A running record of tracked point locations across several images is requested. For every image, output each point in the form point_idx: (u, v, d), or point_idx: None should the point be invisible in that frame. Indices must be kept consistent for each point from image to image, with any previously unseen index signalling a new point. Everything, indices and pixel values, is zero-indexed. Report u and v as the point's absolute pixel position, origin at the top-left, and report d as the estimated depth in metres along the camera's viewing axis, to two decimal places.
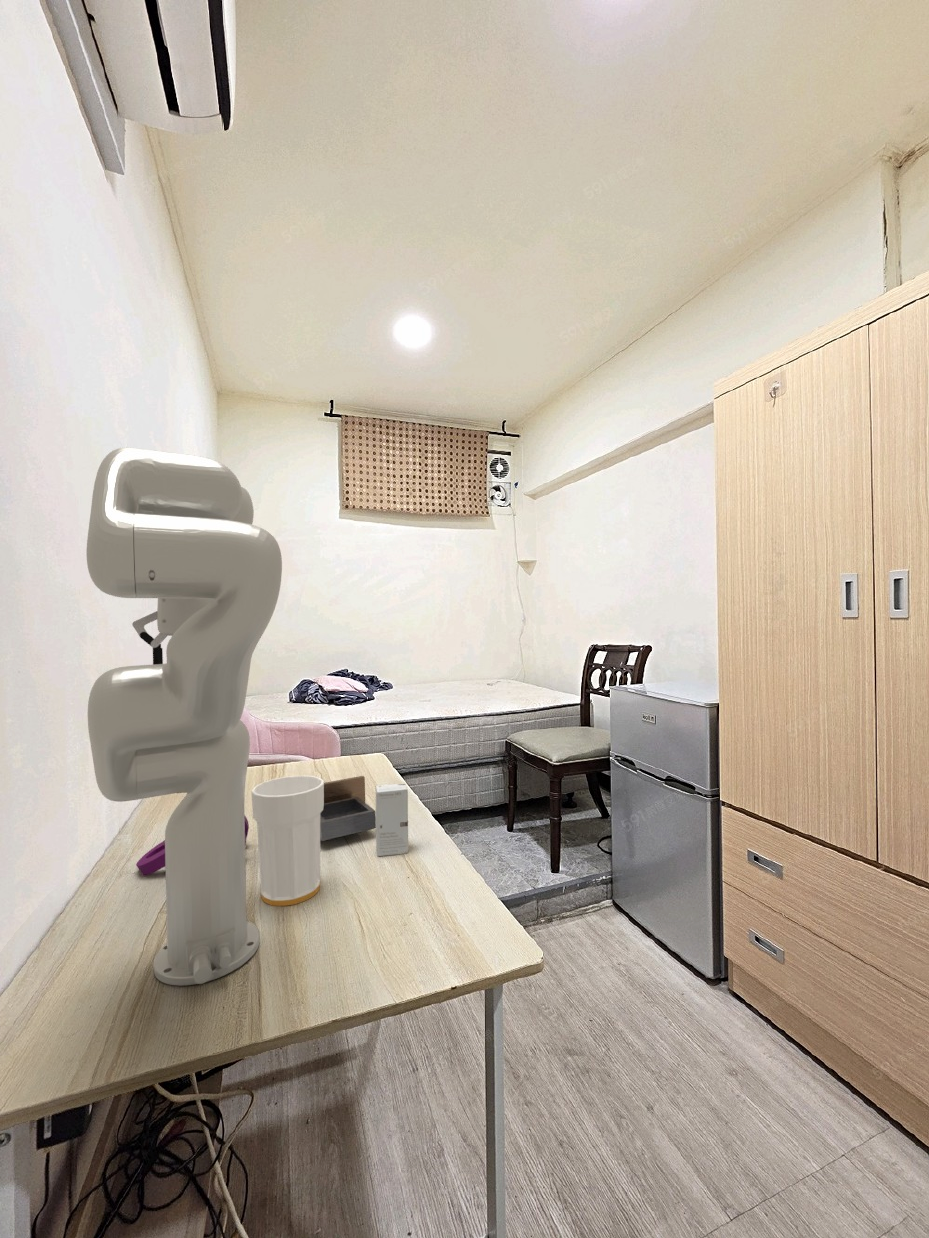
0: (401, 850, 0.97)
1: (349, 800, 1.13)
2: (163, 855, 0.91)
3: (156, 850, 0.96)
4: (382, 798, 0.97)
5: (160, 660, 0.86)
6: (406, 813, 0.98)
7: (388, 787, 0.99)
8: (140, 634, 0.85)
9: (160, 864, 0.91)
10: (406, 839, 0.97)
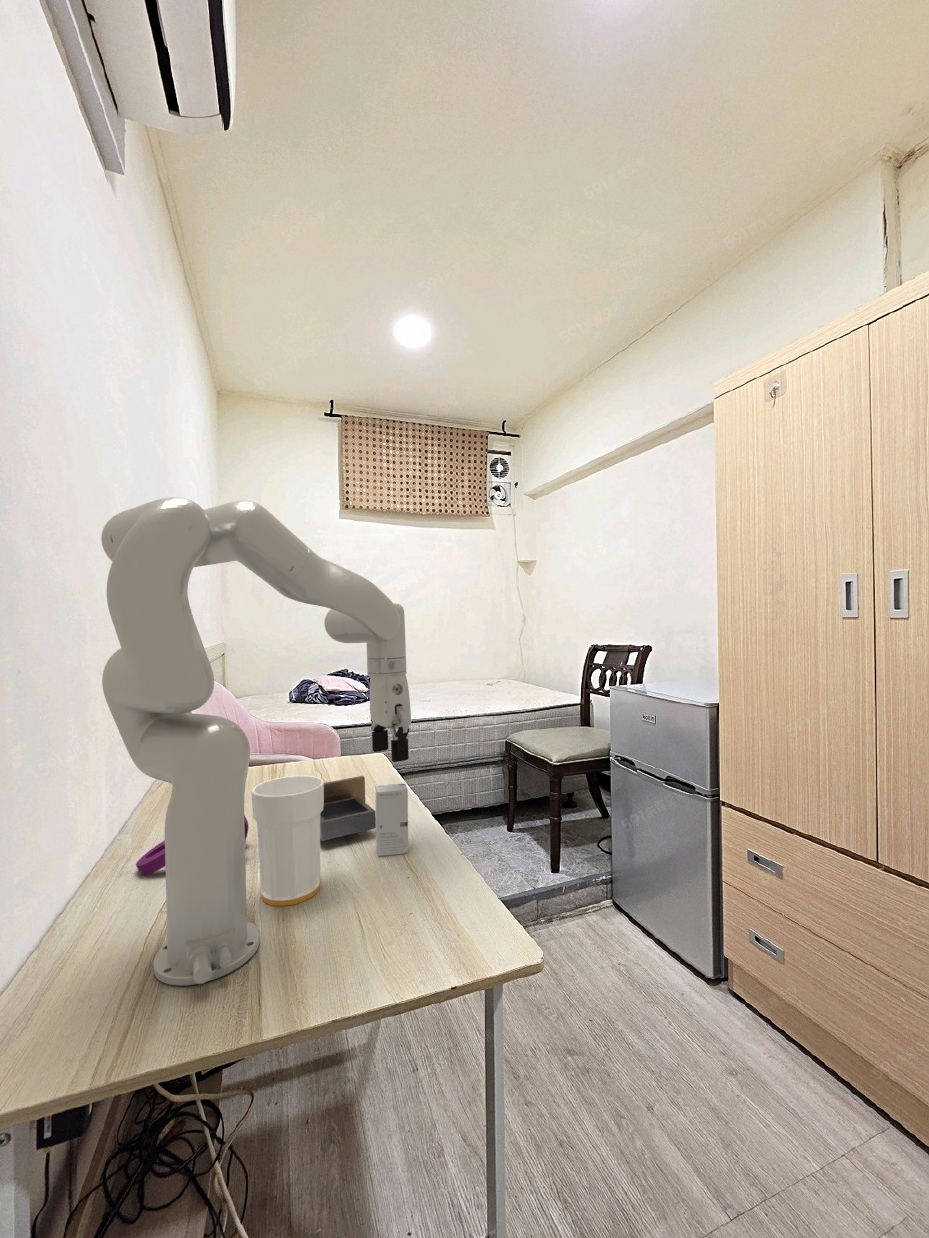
0: (401, 850, 0.97)
1: (349, 800, 1.13)
2: (162, 855, 0.91)
3: (156, 850, 0.96)
4: (382, 798, 0.97)
5: None
6: (406, 813, 0.98)
7: (388, 787, 0.99)
8: (408, 728, 0.93)
9: (160, 864, 0.91)
10: (406, 839, 0.97)
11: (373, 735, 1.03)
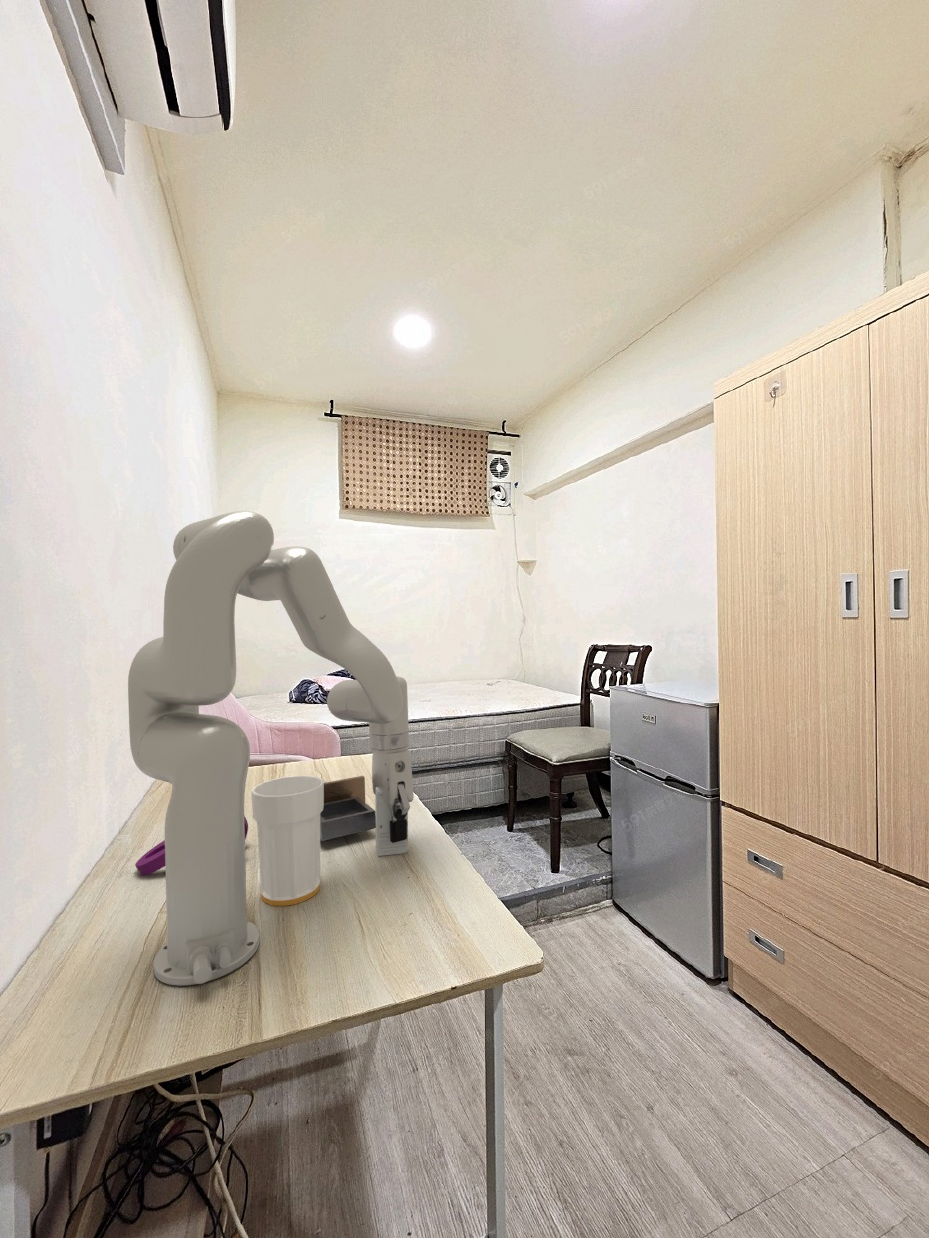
0: (401, 850, 0.97)
1: (349, 800, 1.13)
2: (162, 856, 0.91)
3: (155, 850, 0.96)
4: (382, 798, 0.97)
5: None
6: None
7: None
8: None
9: (159, 864, 0.91)
10: (406, 839, 0.98)
11: None
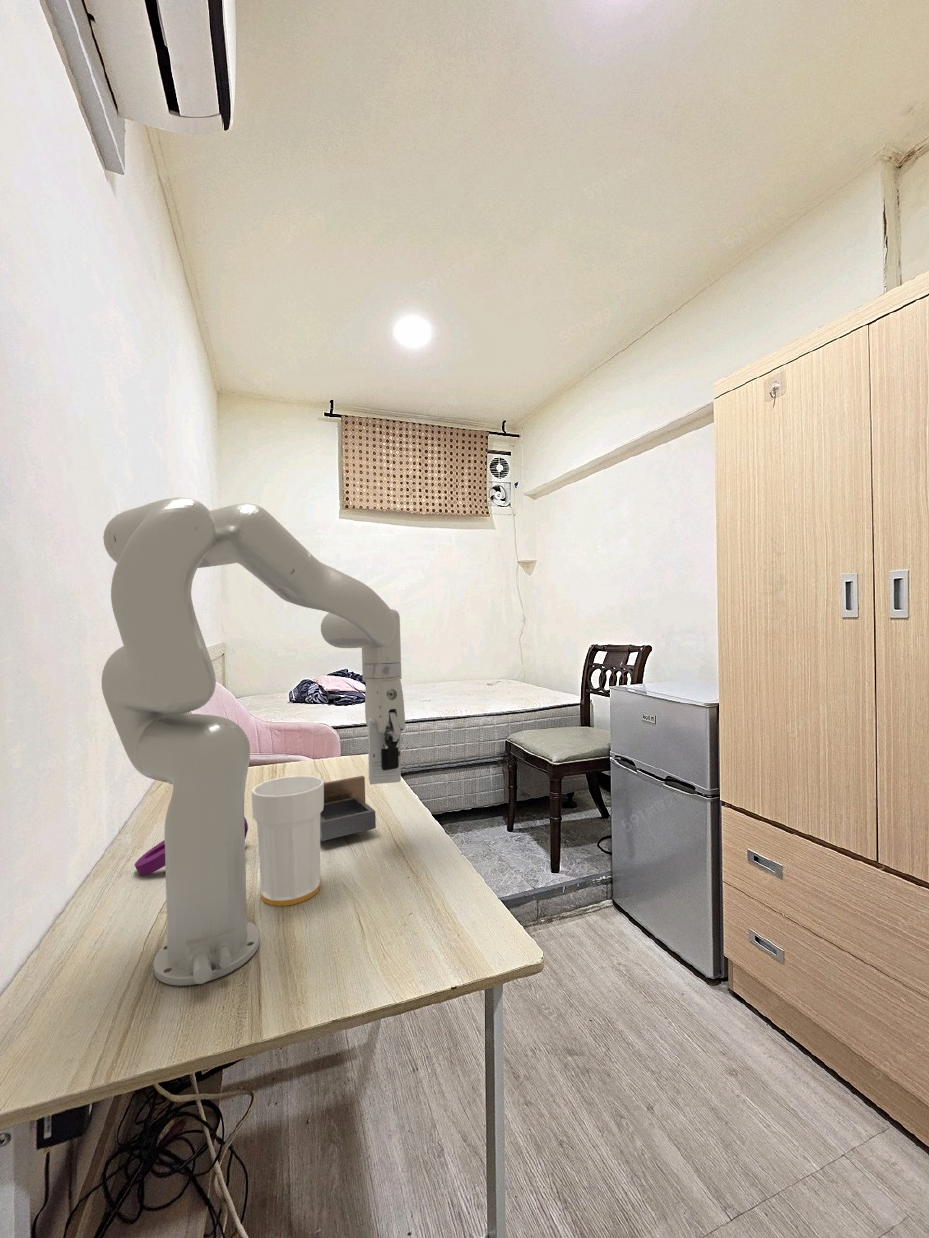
0: (394, 779, 0.98)
1: (349, 800, 1.13)
2: (161, 856, 0.91)
3: (155, 850, 0.96)
4: (375, 727, 0.98)
5: None
6: (399, 743, 0.99)
7: None
8: (398, 738, 0.95)
9: (158, 864, 0.91)
10: (399, 768, 0.98)
11: None
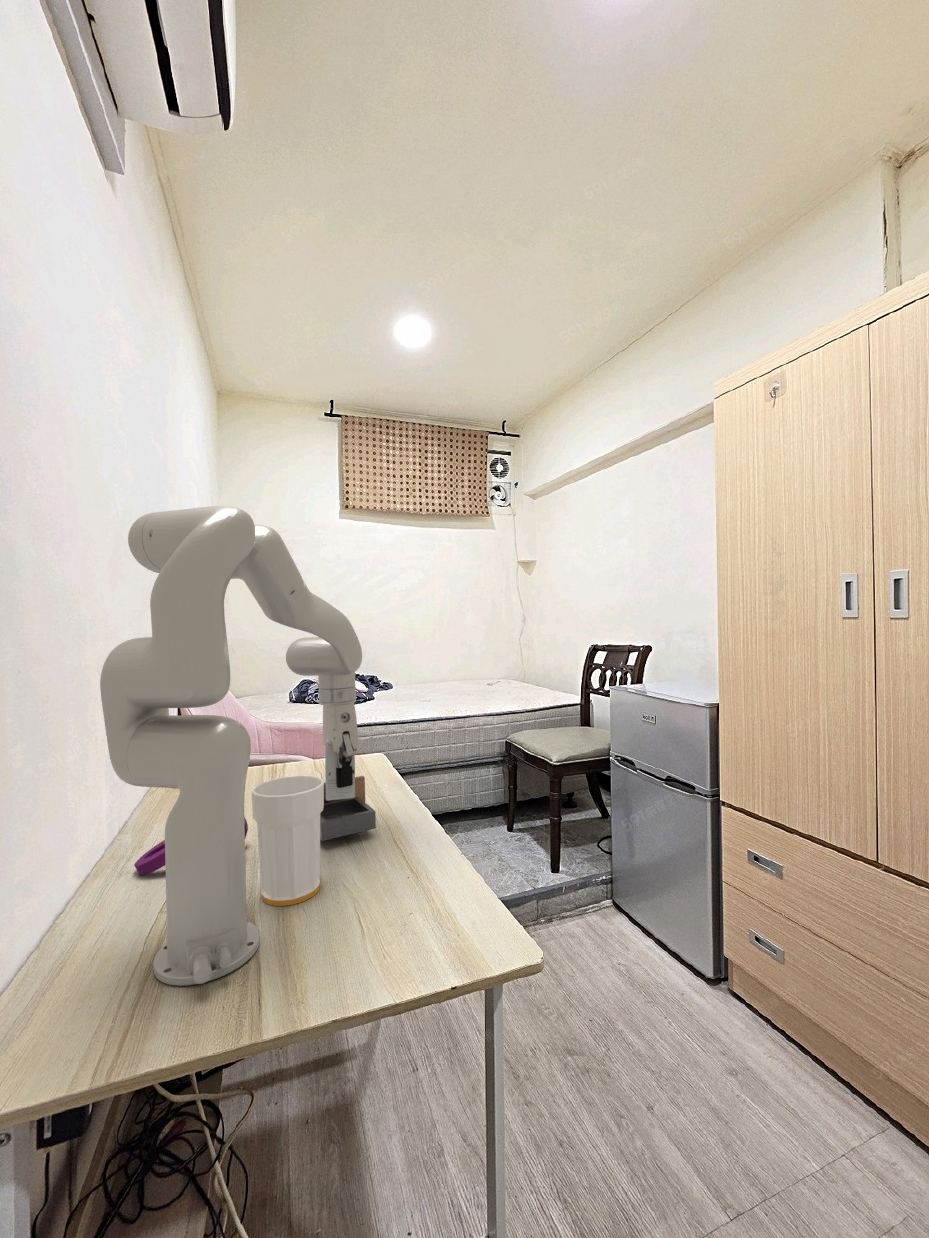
0: (348, 795, 1.06)
1: (349, 800, 1.13)
2: (160, 856, 0.91)
3: (155, 850, 0.96)
4: (330, 748, 1.05)
5: None
6: (353, 761, 1.06)
7: None
8: None
9: (157, 864, 0.91)
10: (353, 785, 1.06)
11: None
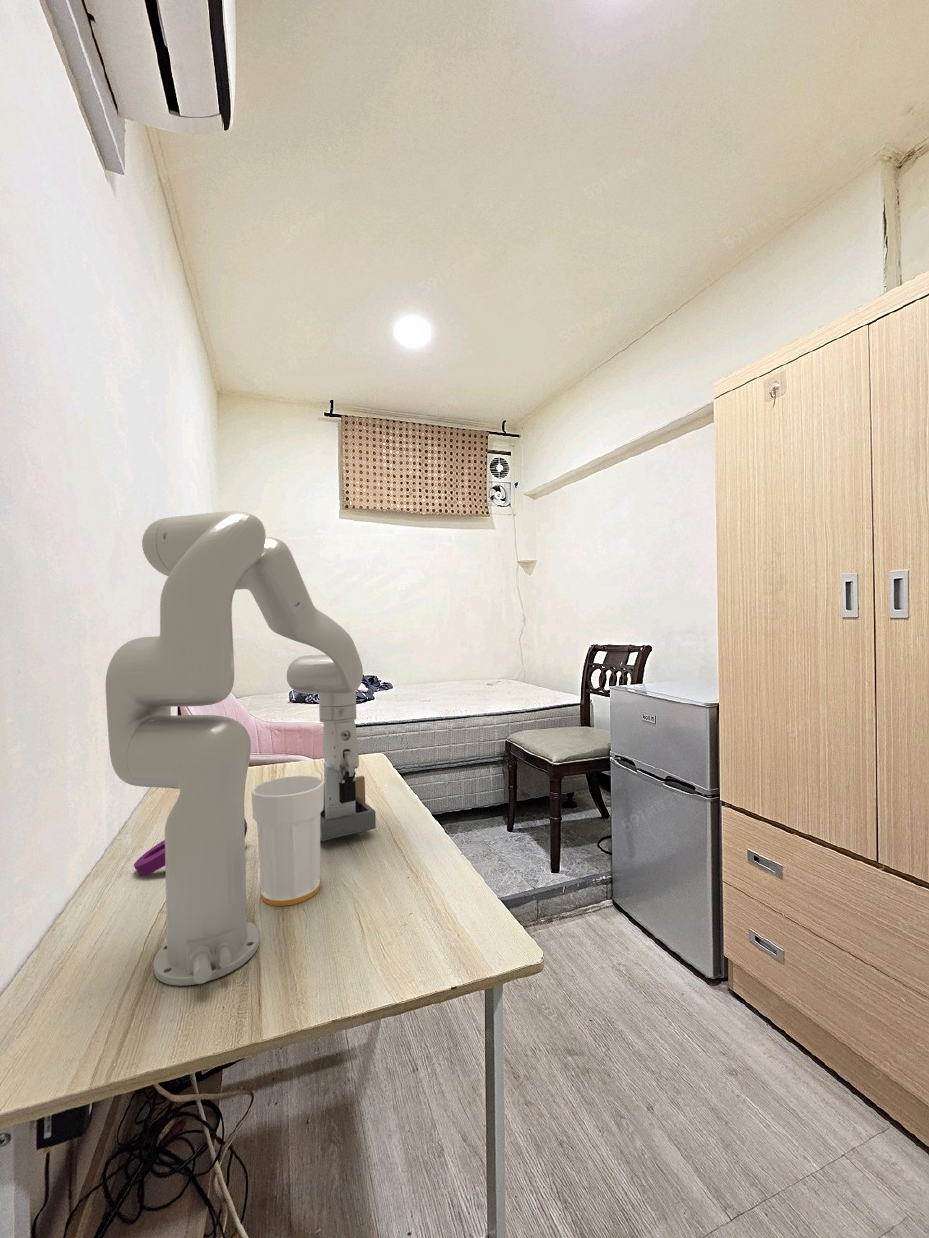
0: None
1: None
2: (160, 856, 0.91)
3: (154, 851, 0.96)
4: (331, 772, 1.05)
5: None
6: None
7: None
8: (354, 772, 1.01)
9: (157, 865, 0.90)
10: (353, 809, 1.06)
11: None
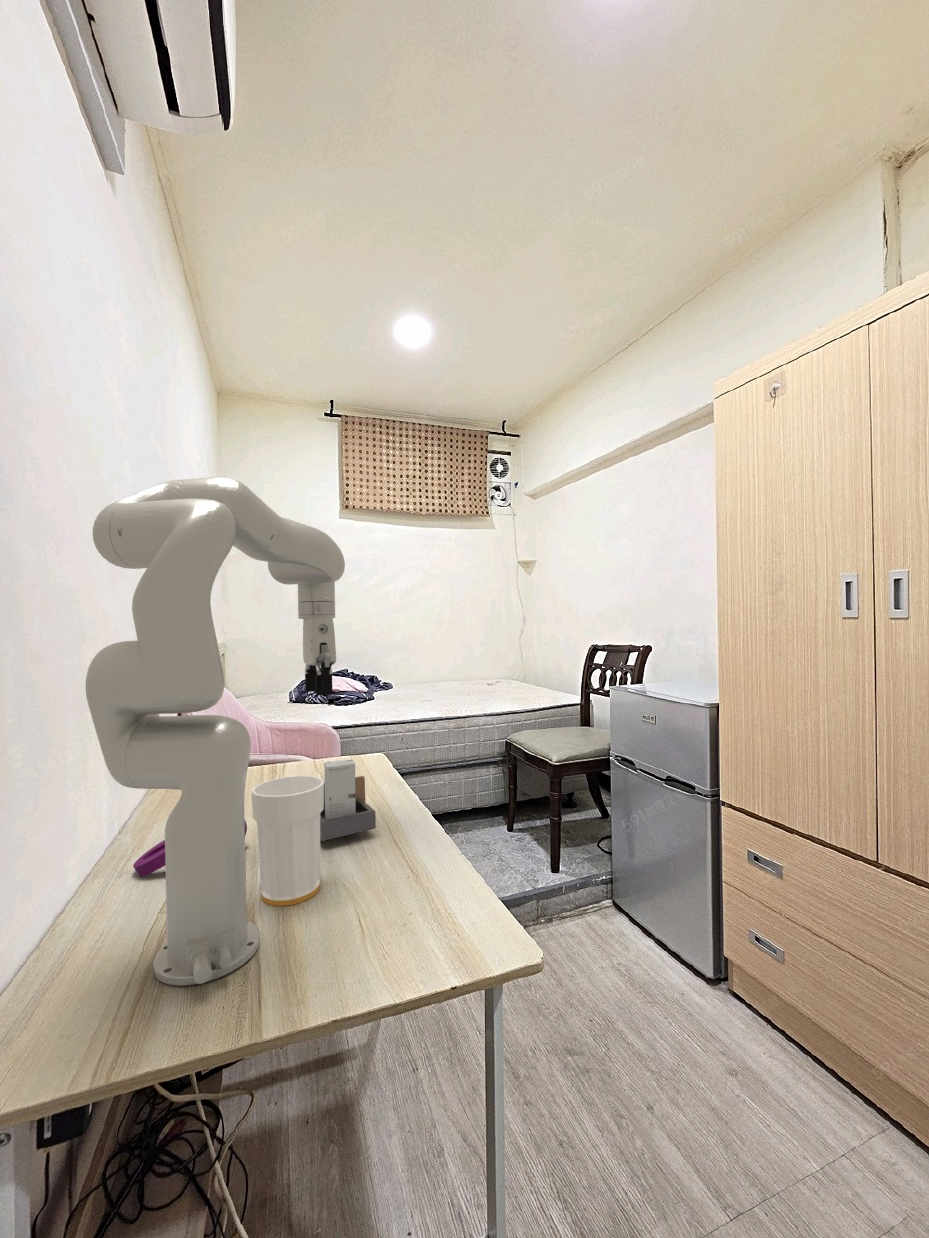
0: None
1: None
2: (159, 856, 0.90)
3: (154, 851, 0.96)
4: (331, 772, 1.05)
5: None
6: (354, 785, 1.06)
7: (336, 762, 1.07)
8: (330, 663, 1.02)
9: (156, 865, 0.90)
10: (354, 809, 1.06)
11: (306, 676, 1.11)
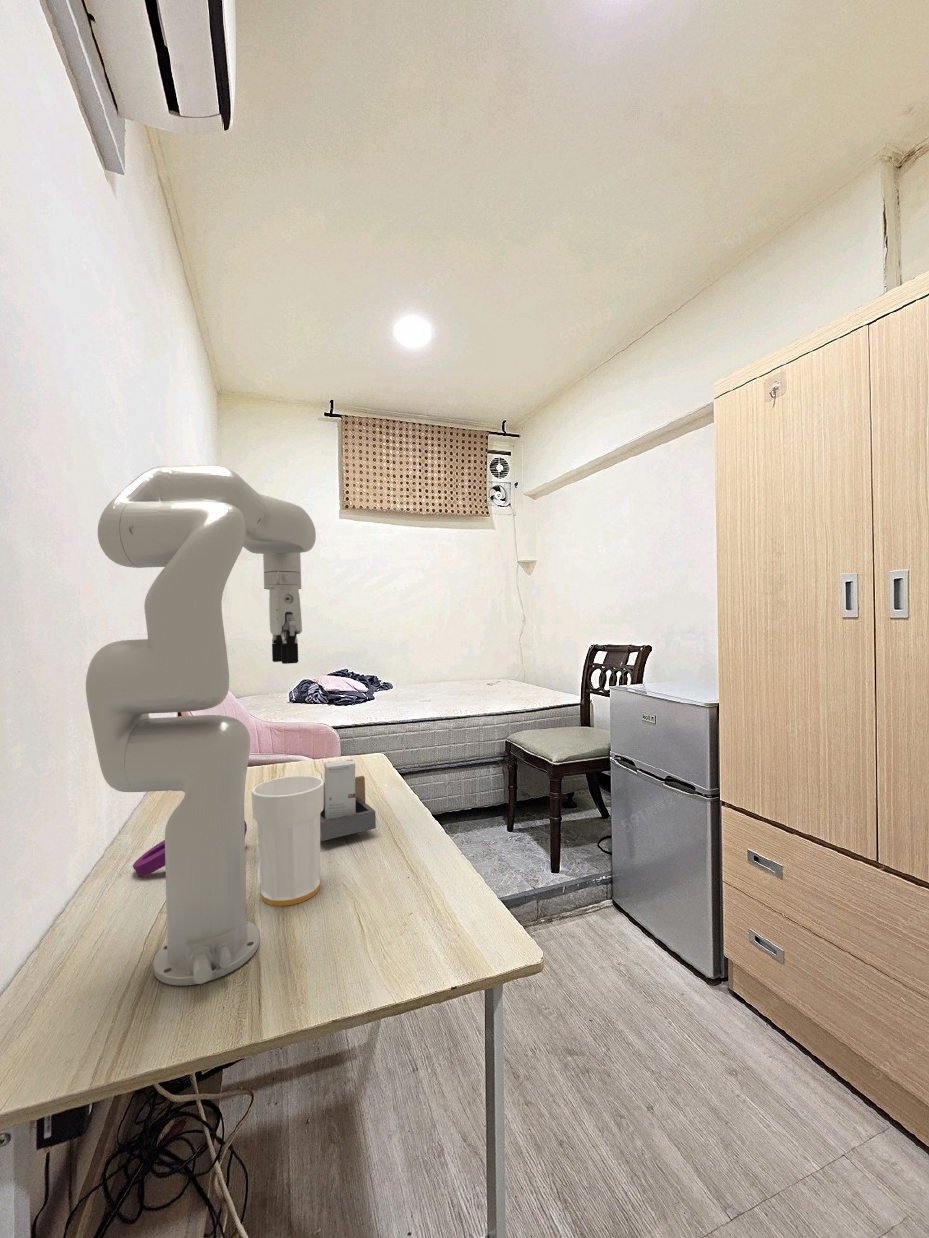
0: None
1: None
2: (159, 857, 0.90)
3: (153, 851, 0.96)
4: (331, 772, 1.05)
5: None
6: (354, 785, 1.06)
7: (336, 762, 1.07)
8: (295, 632, 1.03)
9: (156, 865, 0.90)
10: (354, 809, 1.06)
11: (273, 646, 1.12)
